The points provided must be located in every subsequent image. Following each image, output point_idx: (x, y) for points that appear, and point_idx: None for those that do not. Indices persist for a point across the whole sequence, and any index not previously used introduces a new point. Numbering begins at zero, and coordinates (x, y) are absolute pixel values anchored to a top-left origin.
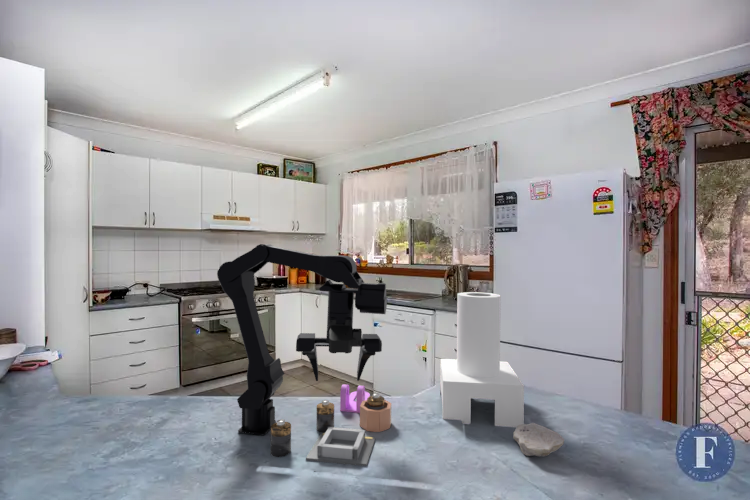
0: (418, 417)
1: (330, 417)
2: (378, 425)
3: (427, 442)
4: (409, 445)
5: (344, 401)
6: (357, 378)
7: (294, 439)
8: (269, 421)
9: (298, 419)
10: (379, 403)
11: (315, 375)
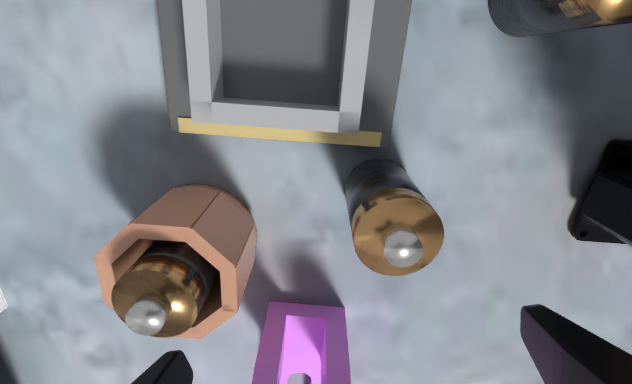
0: (84, 307)
1: (362, 194)
2: (165, 196)
3: (2, 153)
4: (56, 126)
5: (330, 343)
6: (169, 365)
7: (486, 125)
8: (624, 182)
9: (486, 263)
10: (130, 269)
11: (590, 340)
